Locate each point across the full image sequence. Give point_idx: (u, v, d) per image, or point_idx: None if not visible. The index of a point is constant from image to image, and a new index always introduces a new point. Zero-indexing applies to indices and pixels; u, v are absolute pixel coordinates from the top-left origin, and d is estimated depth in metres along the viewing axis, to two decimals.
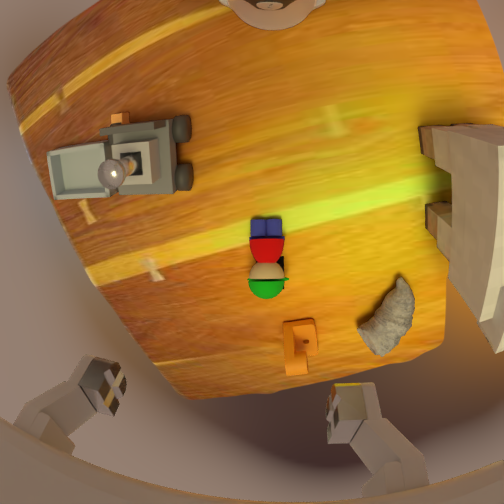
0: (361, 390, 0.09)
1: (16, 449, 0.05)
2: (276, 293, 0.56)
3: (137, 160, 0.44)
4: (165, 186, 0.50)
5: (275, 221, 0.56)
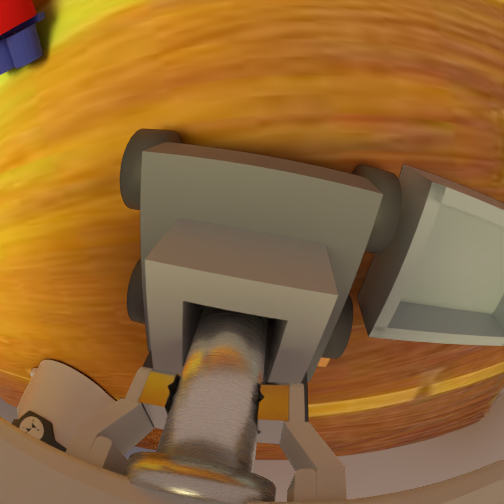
0: (287, 390, 0.09)
1: (16, 449, 0.05)
2: None
3: None
4: (166, 182, 0.13)
5: None
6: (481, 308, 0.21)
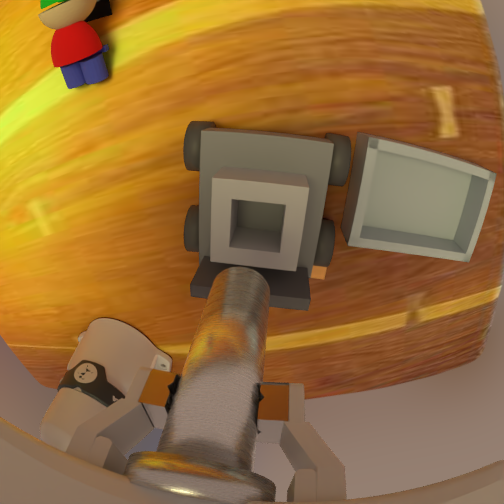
0: (287, 390, 0.09)
1: (16, 449, 0.05)
2: None
3: None
4: (215, 147, 0.24)
5: (70, 85, 0.25)
6: (441, 234, 0.31)
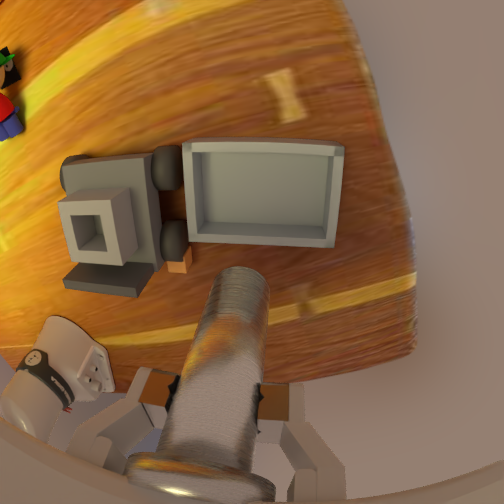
0: (287, 390, 0.09)
1: (16, 449, 0.05)
2: None
3: None
4: (71, 176, 0.29)
5: (0, 139, 0.31)
6: (304, 222, 0.35)
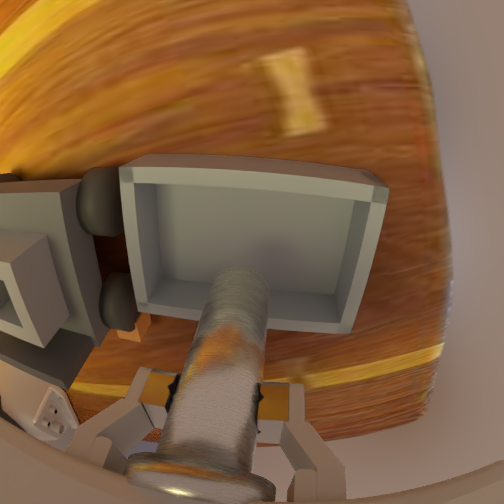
0: (287, 390, 0.09)
1: (16, 449, 0.05)
2: None
3: None
4: None
5: None
6: (309, 288, 0.23)
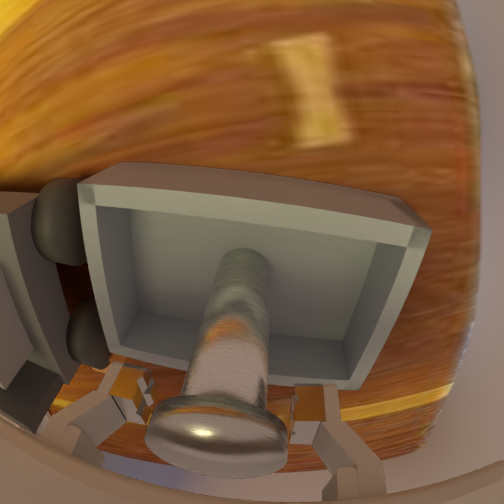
0: (322, 391, 0.09)
1: (16, 449, 0.05)
2: None
3: None
4: None
5: None
6: (313, 333, 0.19)
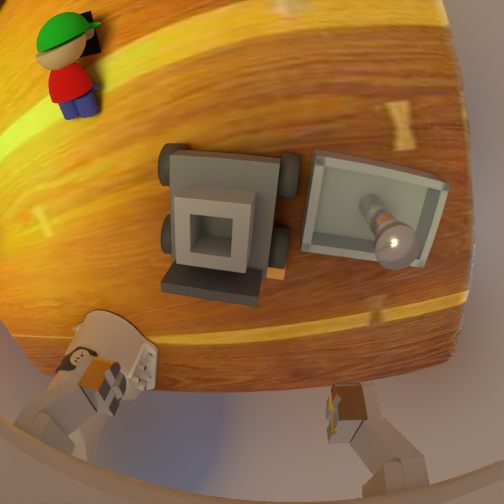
0: (361, 390, 0.09)
1: (16, 449, 0.05)
2: (39, 32, 0.20)
3: (367, 222, 0.31)
4: (181, 168, 0.29)
5: (66, 116, 0.31)
6: None
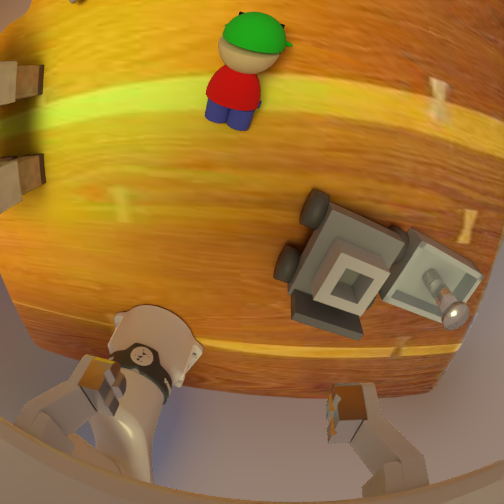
0: (361, 390, 0.09)
1: (16, 449, 0.05)
2: (237, 20, 0.23)
3: (431, 291, 0.39)
4: (336, 223, 0.35)
5: (211, 118, 0.34)
6: (435, 302, 0.45)
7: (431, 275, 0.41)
